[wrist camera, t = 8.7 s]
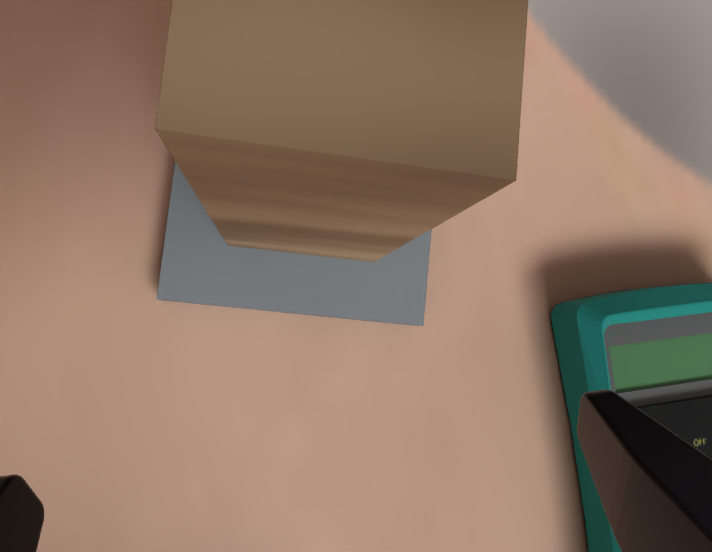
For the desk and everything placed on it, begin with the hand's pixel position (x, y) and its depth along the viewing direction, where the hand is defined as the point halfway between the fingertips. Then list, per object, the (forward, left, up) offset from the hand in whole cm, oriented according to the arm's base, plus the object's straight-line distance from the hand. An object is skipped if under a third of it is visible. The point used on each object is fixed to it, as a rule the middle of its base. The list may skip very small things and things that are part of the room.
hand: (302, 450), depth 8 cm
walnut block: (+7, +2, -9) cm, 12 cm away
